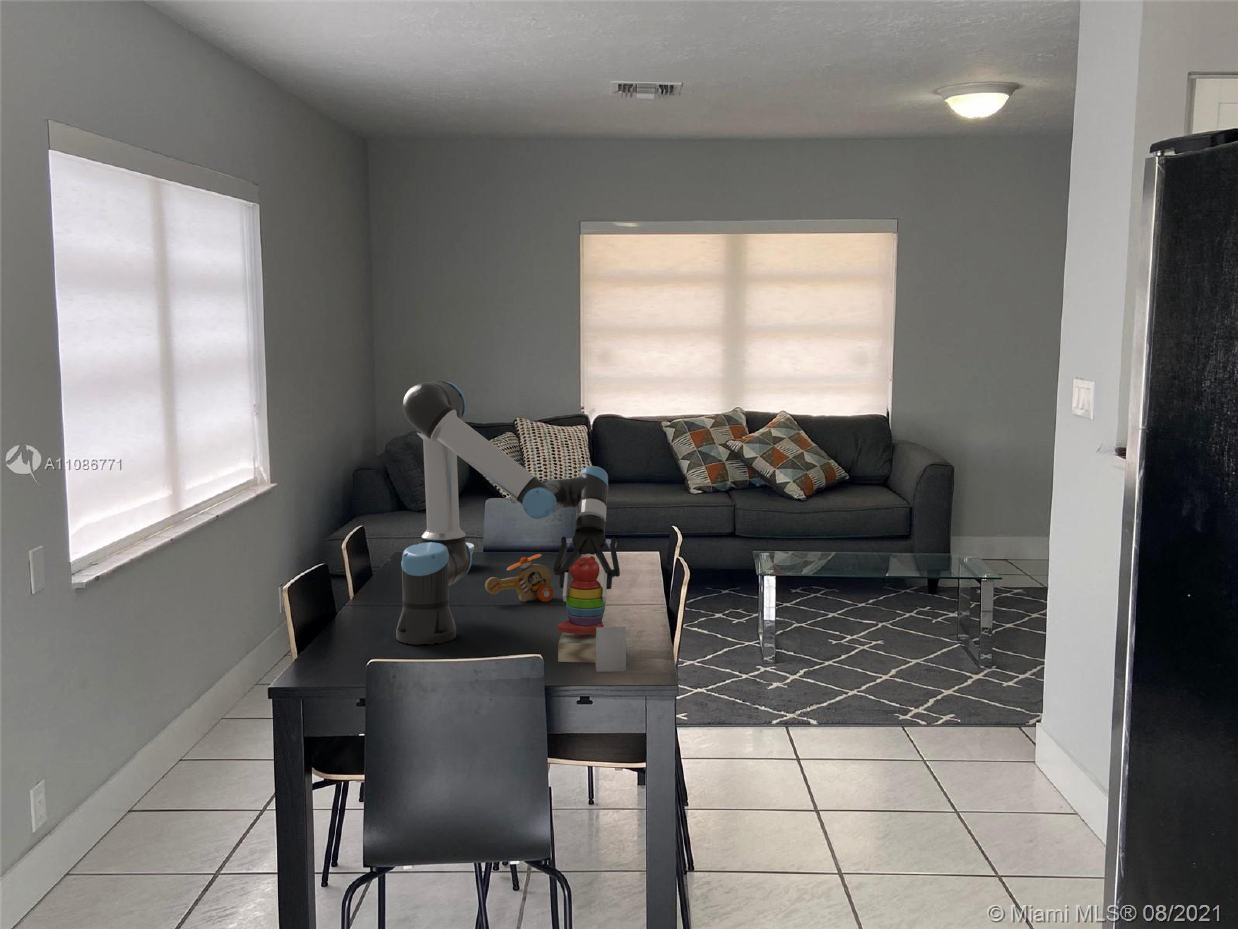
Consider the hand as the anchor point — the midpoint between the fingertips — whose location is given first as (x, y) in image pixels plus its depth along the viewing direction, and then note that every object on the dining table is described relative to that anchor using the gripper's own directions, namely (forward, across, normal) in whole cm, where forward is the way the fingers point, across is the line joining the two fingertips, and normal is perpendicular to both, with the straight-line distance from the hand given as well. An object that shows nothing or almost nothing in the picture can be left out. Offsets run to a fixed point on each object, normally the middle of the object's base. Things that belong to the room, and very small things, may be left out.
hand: (584, 599), depth 258 cm
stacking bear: (+4, 0, -8) cm, 9 cm away
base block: (+8, 0, -13) cm, 15 cm away
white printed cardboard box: (+16, -7, -5) cm, 18 cm away
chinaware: (-57, +53, -79) cm, 111 cm away
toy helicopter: (-28, +23, -49) cm, 61 cm away
